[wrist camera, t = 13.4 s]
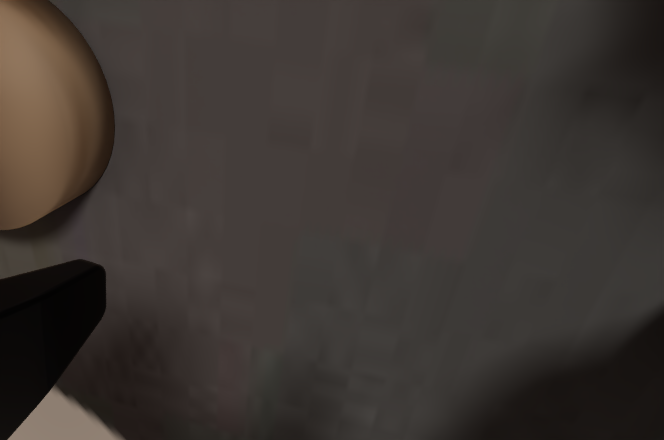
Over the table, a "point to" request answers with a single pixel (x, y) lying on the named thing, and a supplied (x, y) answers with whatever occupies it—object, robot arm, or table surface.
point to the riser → (48, 112)
